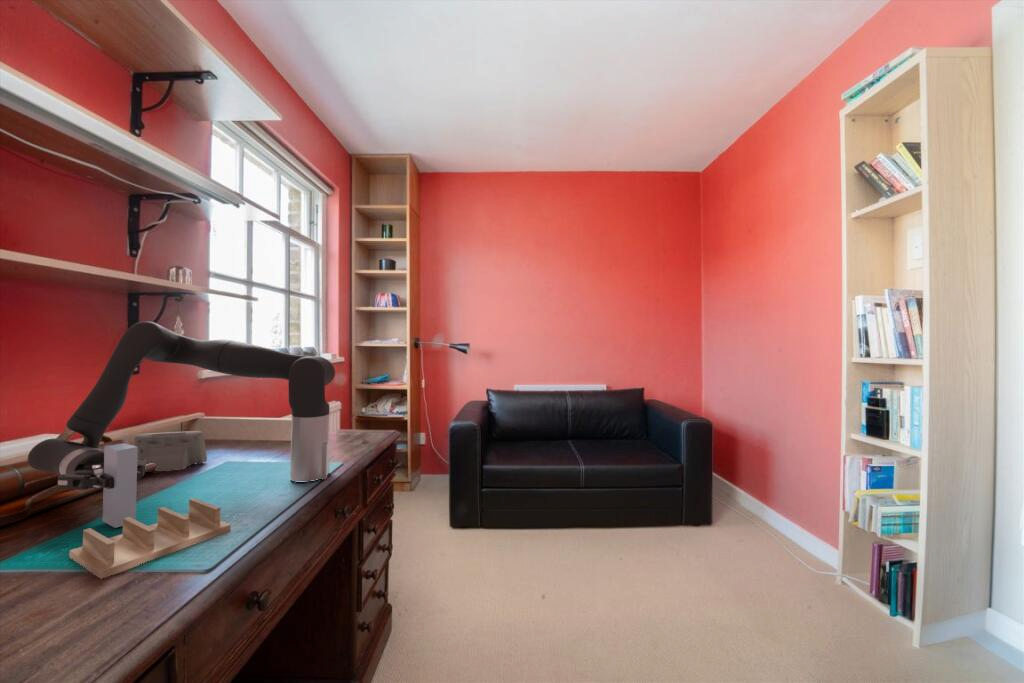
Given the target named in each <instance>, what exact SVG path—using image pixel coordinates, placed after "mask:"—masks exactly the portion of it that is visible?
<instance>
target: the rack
mask: <svg viewBox="0 0 1024 683" xmlns="http://www.w3.org/2000/svg"><path fill="white" fill-rule="evenodd" d="M221 510H222V509H221V507H219V506H216V505H213V504H211V503H208V502H206V501H204V500H203V501H202V500H200V499H198V498H194V497H193V498H189V501H188V513H185V514H182V513H179V512H176V511H174V510H172V509H169V508H167V507H165V506H163V507H159V508H157V522H156V523H154V524H150V525H146V524H144V523H142V522H141V521H139V520H137V519H136V520H135V519H132V518H130V517H127V518H123V526H122V533H121V534H117V535H114V536H110V537H106V536H105V535H103V534H102V533H99V532H98V531H96V530H95V529H93V528H91V527H90V528H86V529H83V530H82V545H81V546H79V547H77V548H72V549H70V550H69V557H70V558H69V559H71V560H72V559H73V560H72V561H74V562H75V561H76V562H75V563H77V562H78V563H79V564H80V565H79V564H78V563H77V564H78V565H79V566H81V565H82V566H83V567H82V566H81V567H82V568H84V567H85V568H86V569H85V568H84V569H85V570H87V569H88V570H89V571H90V573H91V572H92V573H93V574H92V573H91V574H92V575H93V576H95V575H96V576H97V578H98V577H99V578H104V579H106V578H108V576H109V577H111V575H112V576H114V575H117V574H120V573H122V572H125V571H128V570H129V569H133V568H135V567H137V566H140V564H141V565H143V564H146V563H148V562H147V561H149V562H151V561H154V560H156V559H155V558H157V559H159V558H162V557H164V556H163V555H165V556H167V555H170V554H172V553H175V552H177V551H181V550H183V549H186V548H188V547H189V548H190V546H194V545H196V544H199V543H202V542H204V541H207V540H210V539H212V538H216V537H217V536H220V535H223V534H225V533H228V532H230V531H231V523H227V521H226V522H225V521H223V520H221ZM161 556H162V557H161ZM158 557H159V558H158ZM153 559H154V560H153ZM150 560H151V561H150ZM145 562H146V563H145ZM142 563H143V564H142ZM88 570H87V571H88ZM89 571H88V572H89ZM96 576H95V577H96ZM105 577H106V578H105ZM99 578H98V579H99Z"/></svg>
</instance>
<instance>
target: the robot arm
mask: <svg viewBox="0 0 1024 683" xmlns="http://www.w3.org/2000/svg"><path fill="white" fill-rule="evenodd" d="M144 359H145V360H147V361H151V362H155V363H168V364H179V365H189V366H194V367H197V368H198V367H199V368H202V369H203V370H208V371H211V372H216V373H221V374H225V375H230V376H236V377H244V378H255V379H256V378H258V379H259V378H260V379H281V380H286V381H288V403H289V407H290V409H291V429H290V430H291V431H290V432H291V433H290V440H291V441H290V468H289V479H290V478H291V479H292V480H294V481H311V480H316V479H322V478H323V479H322V480H327V479H328V476H329V474H330V460H331V459H330V458H331V456H330V455H331V454H330V451H331V439H330V408H331V407H330V403H328V402H327V399H326V395H325V394H326V393H325V392H326V390H325V389H326V388H325V387H326V386H328V385H329V384H331V383H332V382H333V380H334V378H335V375H336V370H335V369H336V368H335V367H334V364H332V362H331V361H330V360H329V359H326V358H325V357H323V356H317V355H316V356H313V355H312V356H310V355H301V354H293V353H287V352H286V353H285V352H281V351H278V350H276V349H272V348H269V347H268V348H267V347H263V346H261V345H256V344H251V343H247V342H243V341H237V340H232V339H213V340H203V339H196V338H193V337H188V336H185V335H183V334H180V333H177V332H175V331H173V330H171V329H169V328H166V327H165V326H163V325H160V324H158V323H156V322H153V321H149V320H148V321H147V320H145V321H144V320H143V321H138V322H135V323H134V324H132V325H131V326H130V327H129V328H127V329H126V330H125V332H124V333H123V335H122V336H121V337H120V340H119V341H118V343H117V345H116V347H115V349H114V350H113V352H112V355H111V356H110V358H109V359H108V361H107V363H106V365H105V367H104V368H103V371H102V373H101V374H100V376H99V378H98V380H97V382H96V383H95V385H94V386H93V388H92V389H91V391H90V392H89V393H88V395H87V396H86V398H85V399H84V400H83V401H82V402H81V404H80V405H79V406H78V407H77V408H76V410H75V411H74V412H73V414H72V415H71V416H70V417H69V419H68V420H67V422H66V424H65V425H66V428H67V429H68V430H70V431H71V432H74V433H78V434H79V435H81V436H82V437H83V440H82V442H81V443H80V442H77V441H70V440H67V439H62V438H49V439H44V440H42V441H40V442H38V443H37V444H35V445H34V446H33V447H32V448H31V450H30V451H29V453H28V455H27V463H28V465H29V466H30V468H32V469H34V470H38V471H41V472H48V473H52V474H55V475H58V477H57V489H58V490H75V491H76V490H78V491H81V490H84V491H85V490H88V489H97V488H107V489H112V488H114V477H112V476H110V475H107V474H105V475H104V450H103V449H100V448H99V446H100V444H101V442H102V439H103V436H104V435H105V433H106V430H108V428H109V426H110V425H111V423H112V422H113V421H114V420H115V418H116V416H118V414H119V413H120V411H121V410H122V408H123V406H124V405H125V402H126V400H127V395H128V390H129V386H130V385H129V384H130V381H131V379H132V375H133V373H134V372H135V370H136V368H137V367H138V366H139V364H140V363H141V362H142V361H143V360H144ZM145 471H146V459H141V460H139V461H138V460H137V483H139V481H140V480H141V478H143V477H144V476H145V474H146V473H145ZM328 473H329V474H328ZM327 475H328V476H327Z"/></svg>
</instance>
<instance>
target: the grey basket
mask: <svg viewBox="0 0 1024 683" xmlns="http://www.w3.org/2000/svg"><path fill="white" fill-rule="evenodd" d="M205 440H206V439H205V434H204V432H203V431H201V430H194V431H193V430H190V431H189V430H188V431H187V430H186V431H168V432H150V433H138V434H136V435H134V444H135V445H134V446H136V447H138V453H137V461H139V460H141V459H146V464H149V463H155V464H156V465H157V466H156V468H155V471H166V472H168V471H167V470H175V469H184V468H185V467H187V466H188V465H190V464H195V463H202V464H204V463H203V462H205V463H206V462H207V461H208V460H207V459H208V457H207V449H206V441H205ZM195 465H196V464H195Z"/></svg>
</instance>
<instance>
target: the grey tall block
mask: <svg viewBox="0 0 1024 683" xmlns="http://www.w3.org/2000/svg"><path fill="white" fill-rule="evenodd" d="M103 449H104V475H105V474H107V475H110V476H112V477H114V488H112V489H107V488H103V490H102V491H103V492H102V494H103V495H102V522H103V523H105V524H106V525H109V526H111V527H112V528H114V529H115V528H119V527H123V518H127V517H130V518H132V519H135V520H137V491H138V490H137V488H138V485H137V484H138V482H137V461H138V456H137V453H138V447H136V446H135V445H132V444H129V443H125V442H123V443H118V444H112V445H104V448H103Z"/></svg>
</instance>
